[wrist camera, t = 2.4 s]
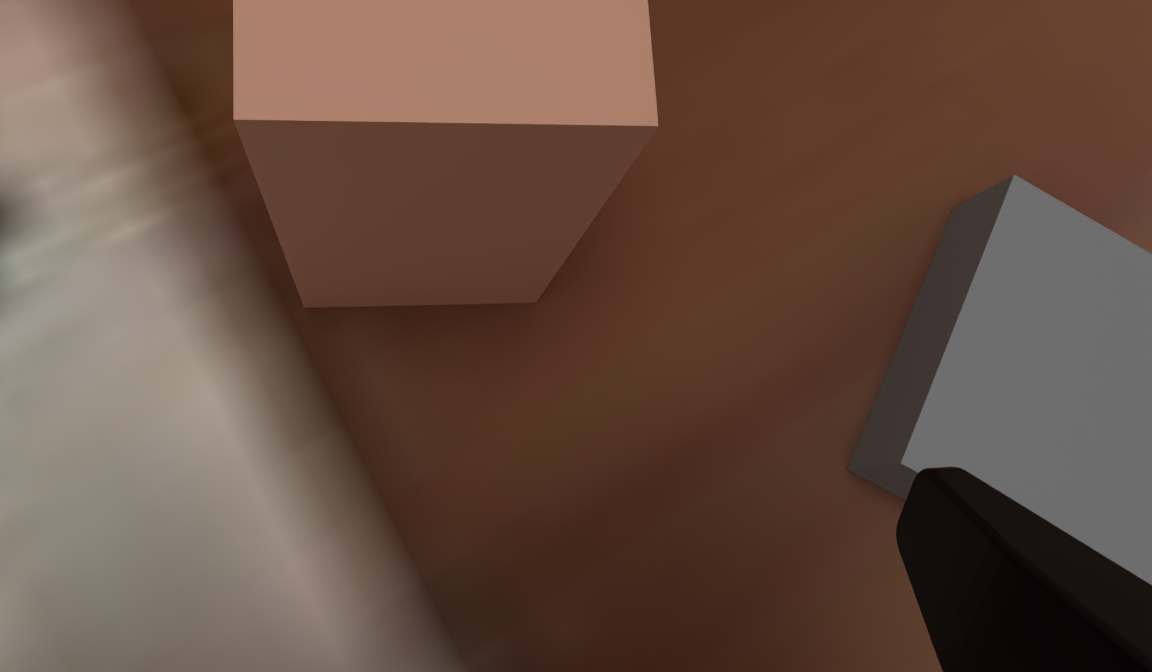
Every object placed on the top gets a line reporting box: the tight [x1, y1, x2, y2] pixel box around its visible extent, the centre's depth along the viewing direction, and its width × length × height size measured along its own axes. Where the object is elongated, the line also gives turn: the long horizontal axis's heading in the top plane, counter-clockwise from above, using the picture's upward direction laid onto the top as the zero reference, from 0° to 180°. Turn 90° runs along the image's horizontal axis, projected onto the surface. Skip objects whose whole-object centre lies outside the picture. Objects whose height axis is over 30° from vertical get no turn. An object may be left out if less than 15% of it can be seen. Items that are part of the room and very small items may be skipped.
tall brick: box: [233, 0, 658, 308], centre depth 18 cm, size 6×6×11 cm
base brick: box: [847, 175, 1152, 585], centre depth 25 cm, size 8×8×3 cm
